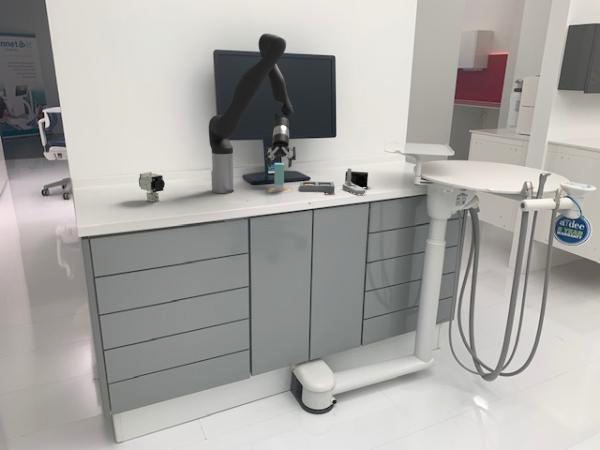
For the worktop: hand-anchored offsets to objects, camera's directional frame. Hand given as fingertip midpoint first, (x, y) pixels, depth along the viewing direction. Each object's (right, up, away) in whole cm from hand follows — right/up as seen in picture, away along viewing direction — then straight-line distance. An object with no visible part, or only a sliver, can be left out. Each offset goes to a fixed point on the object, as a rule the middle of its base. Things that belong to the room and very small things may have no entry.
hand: (279, 166), depth 215 cm
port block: (+17, -11, +4) cm, 20 cm away
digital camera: (+36, -8, +14) cm, 40 cm away
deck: (0, -12, 0) cm, 12 cm away
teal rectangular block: (0, -11, 0) cm, 11 cm away
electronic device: (+34, -11, +5) cm, 36 cm away
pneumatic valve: (-51, -17, -19) cm, 57 cm away
